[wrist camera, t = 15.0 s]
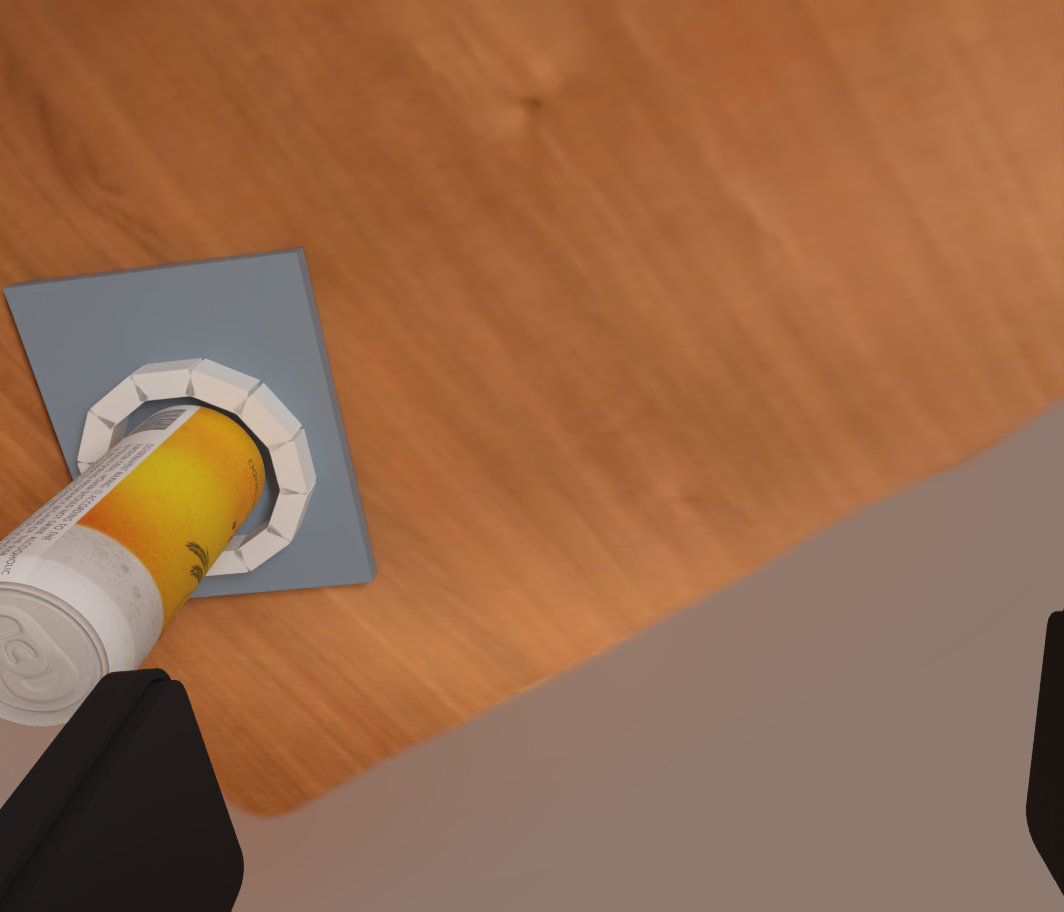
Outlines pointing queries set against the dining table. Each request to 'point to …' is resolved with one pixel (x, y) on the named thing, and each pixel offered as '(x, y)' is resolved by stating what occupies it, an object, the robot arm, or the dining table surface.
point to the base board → (231, 333)
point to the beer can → (118, 558)
